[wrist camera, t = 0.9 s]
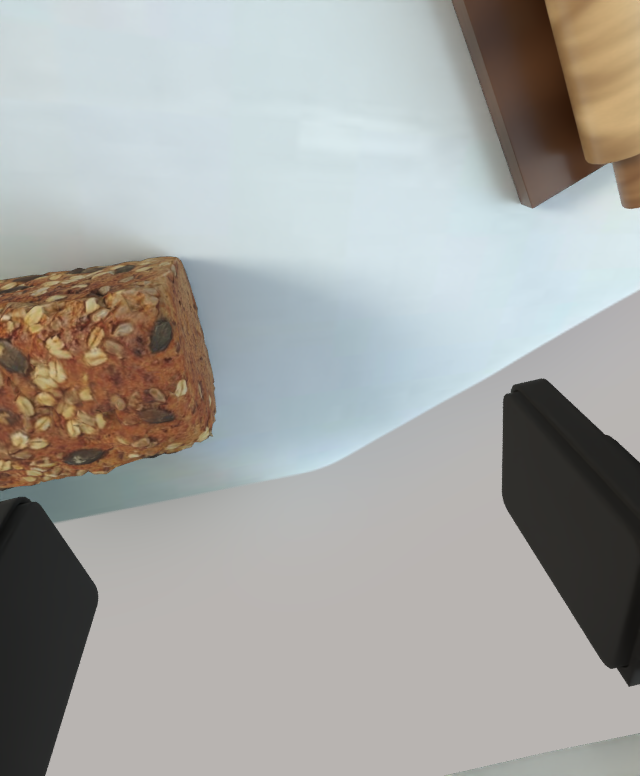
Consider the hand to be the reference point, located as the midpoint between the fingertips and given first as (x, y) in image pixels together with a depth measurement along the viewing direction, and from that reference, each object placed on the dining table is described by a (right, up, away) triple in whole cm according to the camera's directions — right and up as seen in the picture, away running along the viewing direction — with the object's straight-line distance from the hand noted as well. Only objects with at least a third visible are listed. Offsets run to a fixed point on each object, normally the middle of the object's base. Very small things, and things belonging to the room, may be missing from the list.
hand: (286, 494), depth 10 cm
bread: (-16, +5, +23) cm, 28 cm away
